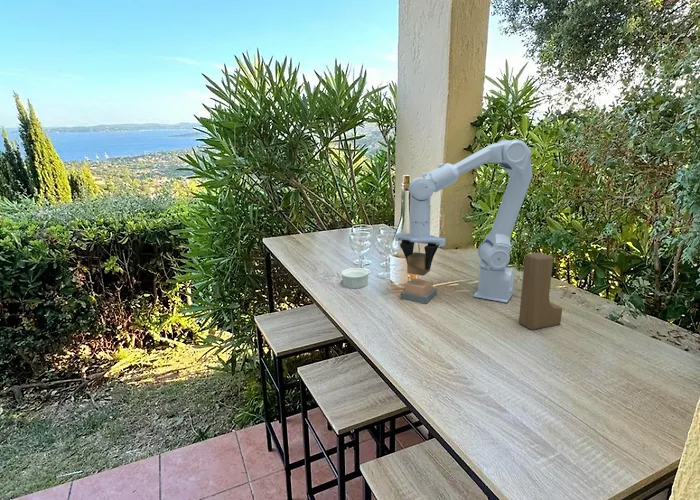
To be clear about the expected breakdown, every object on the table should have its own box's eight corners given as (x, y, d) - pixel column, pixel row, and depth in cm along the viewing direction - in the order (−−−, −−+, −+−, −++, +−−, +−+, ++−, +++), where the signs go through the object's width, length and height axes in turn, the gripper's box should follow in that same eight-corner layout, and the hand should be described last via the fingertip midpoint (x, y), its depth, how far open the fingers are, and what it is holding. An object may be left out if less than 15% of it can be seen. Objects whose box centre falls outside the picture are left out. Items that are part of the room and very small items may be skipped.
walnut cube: (430, 270, 116) (430, 254, 114) (423, 275, 112) (423, 258, 110) (414, 268, 118) (414, 252, 117) (407, 273, 114) (407, 256, 113)
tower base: (436, 296, 118) (436, 288, 118) (426, 305, 112) (426, 297, 111) (411, 291, 123) (412, 284, 122) (400, 300, 116) (400, 292, 116)
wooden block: (547, 317, 102) (554, 249, 97) (561, 324, 97) (569, 254, 93) (517, 322, 99) (524, 253, 94) (530, 330, 95) (538, 258, 90)
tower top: (432, 289, 117) (432, 281, 116) (423, 296, 112) (423, 287, 112) (414, 285, 121) (414, 277, 120) (404, 291, 116) (404, 283, 115)
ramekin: (358, 291, 123) (357, 278, 122) (336, 286, 128) (335, 273, 127) (374, 283, 130) (374, 270, 128) (352, 278, 135) (352, 266, 134)
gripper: (390, 221, 112) (390, 267, 115) (439, 226, 104) (438, 275, 108) (401, 217, 117) (400, 260, 121) (448, 221, 110) (446, 267, 113)
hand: (418, 267), depth 115 cm, fingers closed on walnut cube, 5 cm apart
